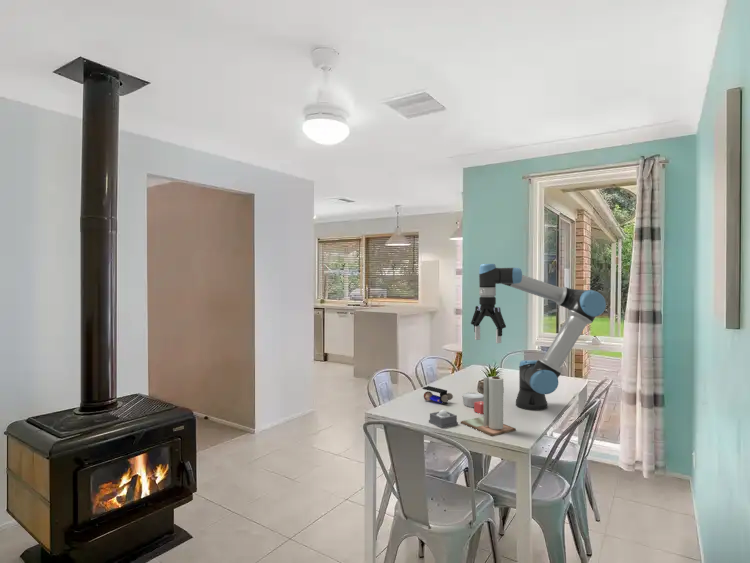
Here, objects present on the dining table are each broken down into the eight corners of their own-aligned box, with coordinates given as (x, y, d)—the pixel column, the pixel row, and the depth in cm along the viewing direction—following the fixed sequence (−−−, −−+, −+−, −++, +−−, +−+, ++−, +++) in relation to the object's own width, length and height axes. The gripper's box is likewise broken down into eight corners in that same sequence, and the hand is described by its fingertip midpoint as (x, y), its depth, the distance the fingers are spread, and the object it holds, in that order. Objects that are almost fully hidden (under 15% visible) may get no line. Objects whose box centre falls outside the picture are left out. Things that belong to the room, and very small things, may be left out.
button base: (444, 418, 207) (444, 410, 207) (458, 424, 199) (458, 415, 199) (428, 422, 202) (428, 413, 202) (441, 428, 194) (441, 418, 194)
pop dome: (444, 417, 204) (444, 406, 204) (452, 421, 199) (452, 410, 199) (433, 419, 201) (433, 408, 201) (442, 423, 196) (442, 412, 196)
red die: (481, 410, 220) (481, 400, 220) (487, 412, 216) (487, 403, 216) (474, 411, 217) (474, 402, 217) (480, 414, 214) (480, 404, 213)
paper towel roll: (505, 427, 192) (505, 377, 192) (499, 431, 188) (499, 379, 187) (490, 423, 197) (490, 375, 197) (483, 427, 192) (483, 377, 192)
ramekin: (481, 402, 234) (481, 391, 234) (487, 408, 223) (487, 397, 223) (459, 402, 234) (459, 392, 234) (464, 408, 223) (465, 398, 223)
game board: (484, 418, 208) (484, 416, 208) (515, 430, 191) (515, 428, 191) (460, 423, 201) (460, 421, 201) (491, 436, 184) (491, 434, 184)
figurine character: (452, 406, 232) (427, 398, 241) (454, 391, 231) (428, 384, 241) (446, 409, 227) (420, 400, 236) (447, 394, 226) (421, 386, 235)
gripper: (463, 295, 222) (463, 338, 222) (501, 297, 200) (502, 345, 201) (474, 295, 226) (475, 337, 226) (513, 297, 204) (513, 343, 205)
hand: (487, 341), depth 213 cm, fingers open, 13 cm apart
